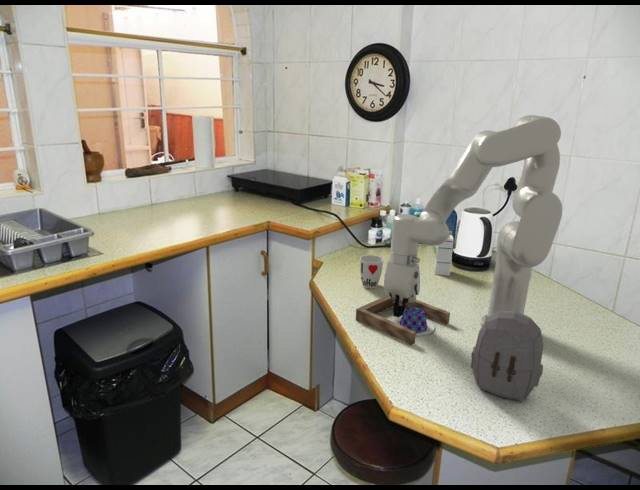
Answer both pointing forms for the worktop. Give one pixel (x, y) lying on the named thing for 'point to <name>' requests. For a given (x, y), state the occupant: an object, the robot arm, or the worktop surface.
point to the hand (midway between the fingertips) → (398, 315)
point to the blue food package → (450, 226)
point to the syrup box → (444, 257)
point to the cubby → (370, 318)
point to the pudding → (415, 321)
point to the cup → (370, 270)
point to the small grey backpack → (508, 355)
